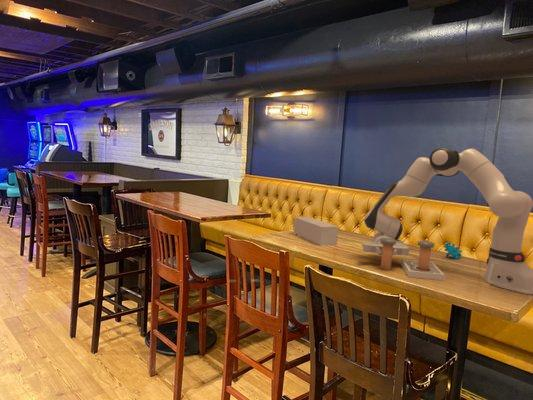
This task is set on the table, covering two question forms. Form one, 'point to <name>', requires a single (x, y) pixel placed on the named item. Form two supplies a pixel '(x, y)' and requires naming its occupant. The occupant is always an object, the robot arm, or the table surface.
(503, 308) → the table surface
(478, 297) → the table surface
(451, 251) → the gear
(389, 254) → the brown pin with head
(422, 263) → the grey capped peg
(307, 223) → the grey rectangular brick
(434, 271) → the housing
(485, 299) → the table surface
